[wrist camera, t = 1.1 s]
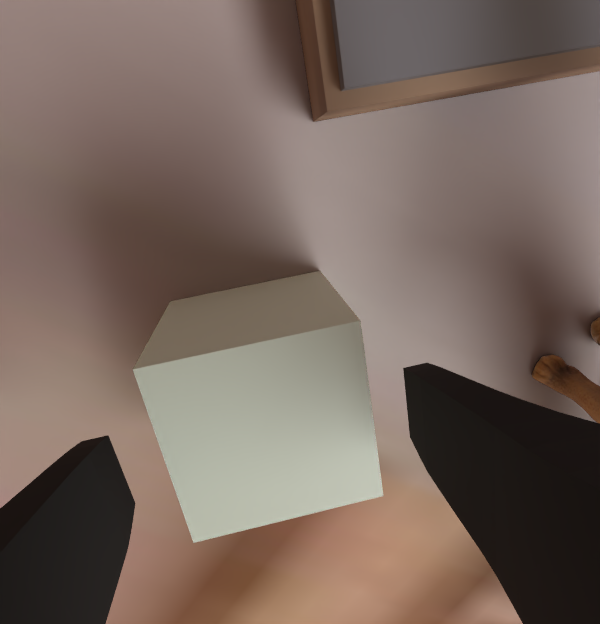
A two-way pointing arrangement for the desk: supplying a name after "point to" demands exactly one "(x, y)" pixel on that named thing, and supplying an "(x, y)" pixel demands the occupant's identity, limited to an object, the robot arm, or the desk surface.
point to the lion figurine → (571, 379)
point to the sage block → (261, 404)
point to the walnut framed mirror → (438, 48)
